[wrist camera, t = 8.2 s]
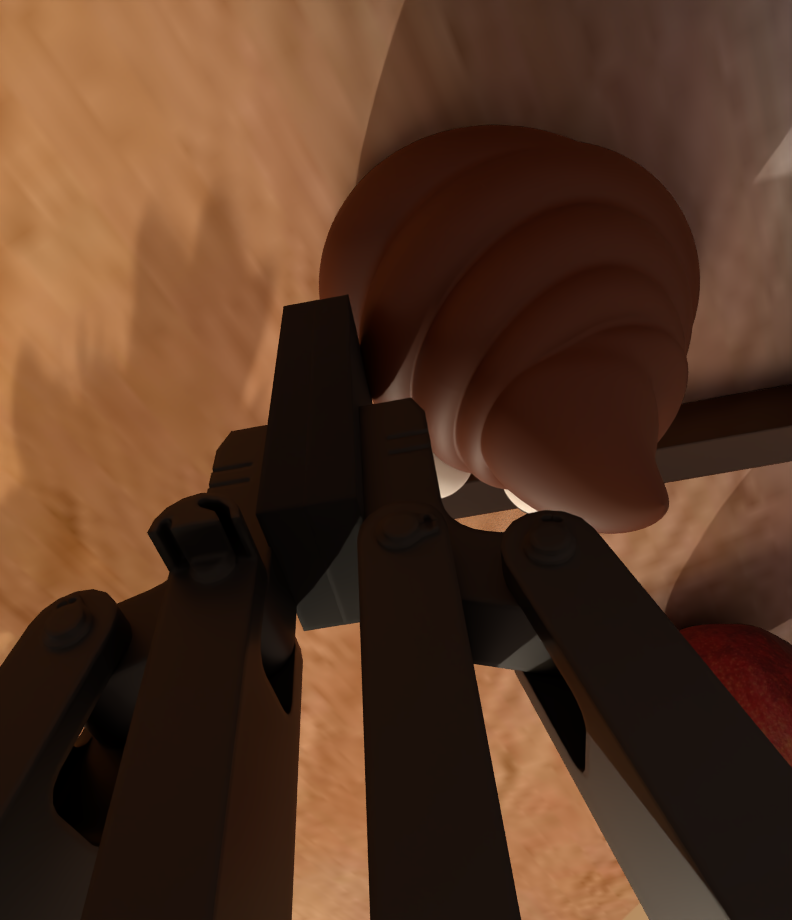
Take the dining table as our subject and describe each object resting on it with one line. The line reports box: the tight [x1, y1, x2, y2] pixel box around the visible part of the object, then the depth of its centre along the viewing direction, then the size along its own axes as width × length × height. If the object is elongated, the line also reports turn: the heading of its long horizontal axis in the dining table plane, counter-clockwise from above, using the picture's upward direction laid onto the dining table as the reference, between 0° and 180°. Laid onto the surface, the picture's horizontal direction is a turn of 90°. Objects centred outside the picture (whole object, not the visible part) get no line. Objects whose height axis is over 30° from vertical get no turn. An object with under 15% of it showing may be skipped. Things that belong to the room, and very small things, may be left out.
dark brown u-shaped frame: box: [441, 385, 792, 519], centre depth 17 cm, size 16×14×2 cm
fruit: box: [679, 624, 792, 767], centre depth 27 cm, size 11×10×10 cm
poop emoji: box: [319, 125, 700, 534], centre depth 15 cm, size 10×8×9 cm
